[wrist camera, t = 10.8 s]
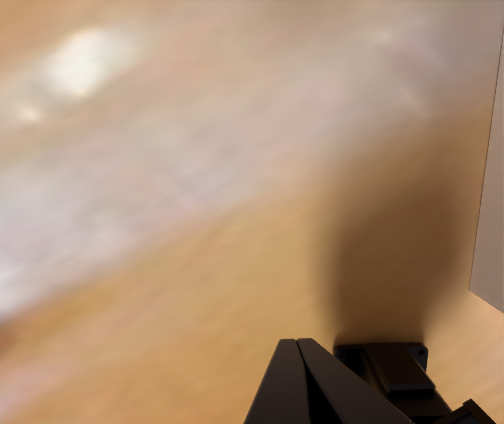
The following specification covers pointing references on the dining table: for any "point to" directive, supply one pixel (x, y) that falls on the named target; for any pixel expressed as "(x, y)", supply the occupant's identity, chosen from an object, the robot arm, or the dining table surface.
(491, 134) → the riser
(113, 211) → the dining table surface
